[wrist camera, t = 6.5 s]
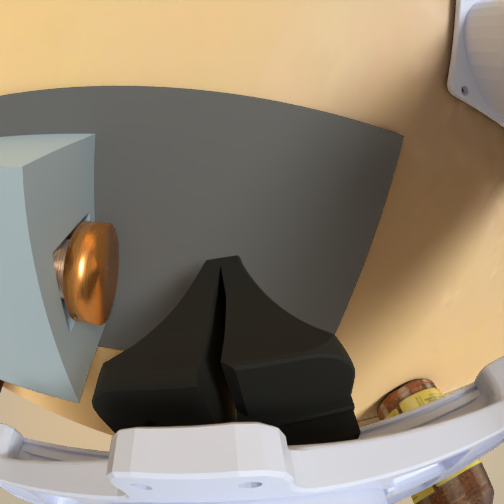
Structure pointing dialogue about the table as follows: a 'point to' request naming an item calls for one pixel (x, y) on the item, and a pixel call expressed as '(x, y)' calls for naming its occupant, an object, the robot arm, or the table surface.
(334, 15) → the table surface
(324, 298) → the mat
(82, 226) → the pin
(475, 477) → the sauce bottle
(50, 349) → the block
